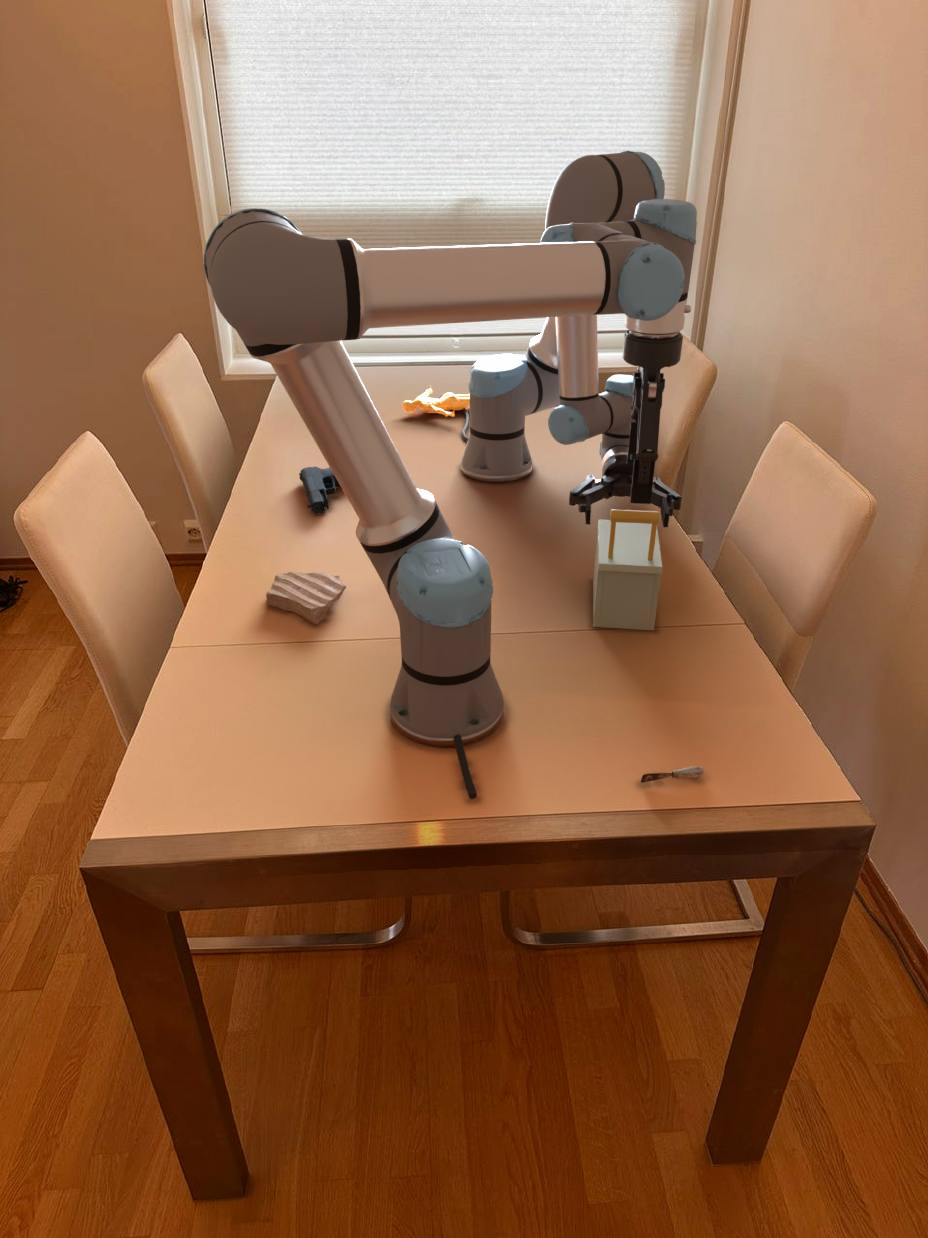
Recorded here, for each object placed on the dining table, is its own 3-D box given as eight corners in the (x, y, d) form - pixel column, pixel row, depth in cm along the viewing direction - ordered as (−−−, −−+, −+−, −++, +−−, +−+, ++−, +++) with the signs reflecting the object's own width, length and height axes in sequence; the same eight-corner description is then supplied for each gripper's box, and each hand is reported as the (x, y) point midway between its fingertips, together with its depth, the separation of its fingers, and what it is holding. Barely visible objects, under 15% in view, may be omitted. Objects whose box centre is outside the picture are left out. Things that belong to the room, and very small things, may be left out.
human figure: (395, 413, 223) (394, 398, 221) (438, 390, 237) (438, 375, 235) (462, 429, 215) (462, 413, 213) (502, 404, 229) (503, 388, 227)
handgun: (369, 509, 176) (308, 516, 174) (354, 474, 190) (298, 480, 188) (368, 494, 174) (307, 501, 172) (353, 460, 189) (296, 466, 186)
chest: (653, 630, 138) (661, 572, 133) (593, 627, 139) (598, 568, 134) (649, 584, 150) (655, 528, 145) (593, 581, 151) (597, 525, 146)
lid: (661, 574, 132) (668, 518, 127) (598, 570, 133) (602, 515, 128) (655, 528, 145) (662, 476, 140) (597, 525, 146) (602, 474, 141)
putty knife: (703, 777, 109) (705, 767, 109) (642, 788, 108) (644, 777, 107) (700, 772, 110) (702, 762, 109) (639, 782, 109) (640, 771, 108)
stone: (356, 590, 149) (354, 577, 147) (319, 626, 139) (317, 612, 138) (289, 576, 153) (287, 563, 152) (249, 610, 144) (247, 596, 142)
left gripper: (692, 358, 105) (671, 522, 116) (675, 309, 126) (659, 451, 137) (628, 357, 106) (613, 519, 117) (622, 308, 127) (610, 449, 138)
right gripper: (683, 492, 175) (696, 540, 158) (556, 487, 178) (555, 535, 160) (688, 455, 172) (702, 502, 154) (558, 451, 174) (557, 496, 156)
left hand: (638, 483), depth 127 cm, fingers open, 13 cm apart
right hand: (627, 519), depth 157 cm, fingers open, 13 cm apart
